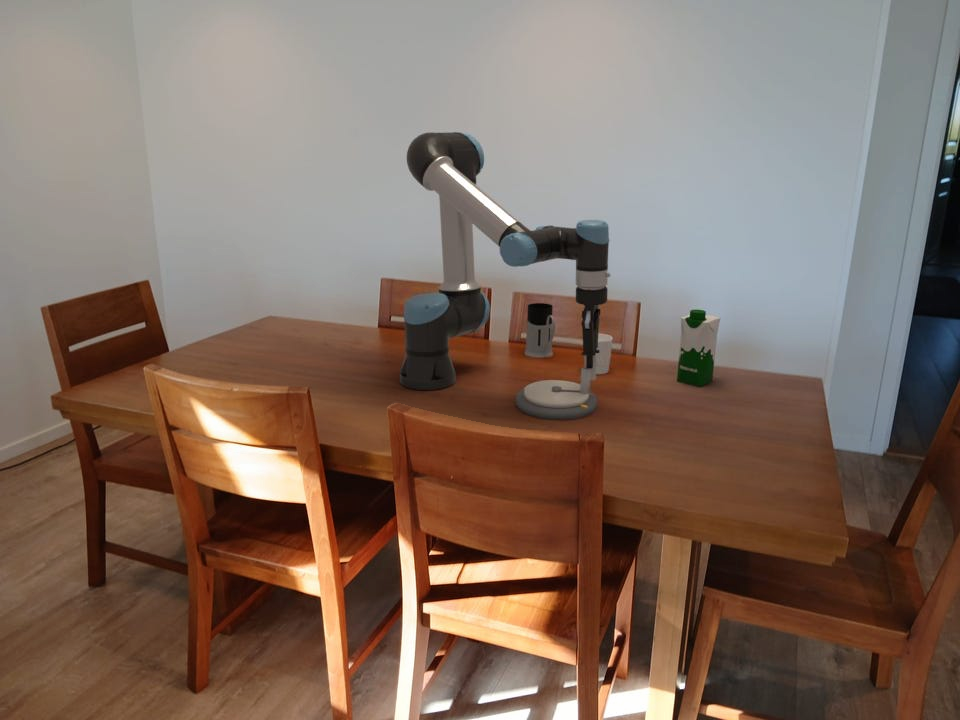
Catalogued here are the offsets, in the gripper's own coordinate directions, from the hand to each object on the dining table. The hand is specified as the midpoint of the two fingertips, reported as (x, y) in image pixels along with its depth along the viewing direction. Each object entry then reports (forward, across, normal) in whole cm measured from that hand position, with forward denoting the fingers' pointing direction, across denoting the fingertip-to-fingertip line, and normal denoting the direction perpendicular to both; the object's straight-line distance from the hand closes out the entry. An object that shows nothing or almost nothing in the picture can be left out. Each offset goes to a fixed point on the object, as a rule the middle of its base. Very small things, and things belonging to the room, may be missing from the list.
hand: (590, 379), depth 181 cm
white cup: (+7, +26, +2) cm, 27 cm away
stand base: (+6, -4, +8) cm, 11 cm away
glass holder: (+7, +35, +20) cm, 41 cm away
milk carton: (+8, +25, -25) cm, 36 cm away
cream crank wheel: (+4, -4, +8) cm, 9 cm away
